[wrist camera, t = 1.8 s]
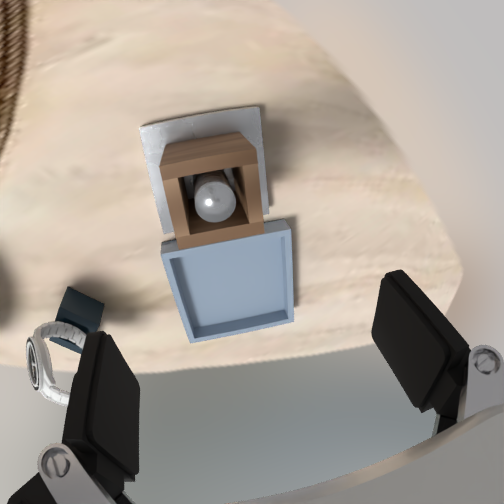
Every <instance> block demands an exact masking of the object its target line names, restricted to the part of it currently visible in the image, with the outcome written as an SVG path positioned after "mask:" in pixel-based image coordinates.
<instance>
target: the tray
mask: <svg viewBox="0 0 504 504" xmlns="http://www.w3.org/2000/svg"><path fill="white" fill-rule="evenodd" d="M264 231H265V233H264V234H258V235H253V236H248V237H242V238H237V239H232V240H227V241H222V242H217V243H211V244H206V245H201V246H196V247H191V248H186V249H181V250H179V248H178V244H177V241H176V240H172V241H167V242H162V244H161V258H162V261H163V264H164V267H165V271H166V274H167V277H168V280H169V283H170V286H171V289H172V292H173V296H174V299H175V302H176V305H177V307H178V310H179V313H180V316H181V319H182V322H183V325H184V328H185V330H186V333H187V336H188V339H189V341H190V343H195V342H200V341H206V340H211V339H216V338H221V337H226V336H231V335H236V334H241V333H246V332H250V331H255V330H260V329H264V328H269V327H273V326H277V325H282V324H286V323H290V322H294V301H293V266H292V239H291V228H290V227H289V225H288V224H287V222H286V221H285V219H282V220H276V221H271V222H265V223H264Z"/></svg>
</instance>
